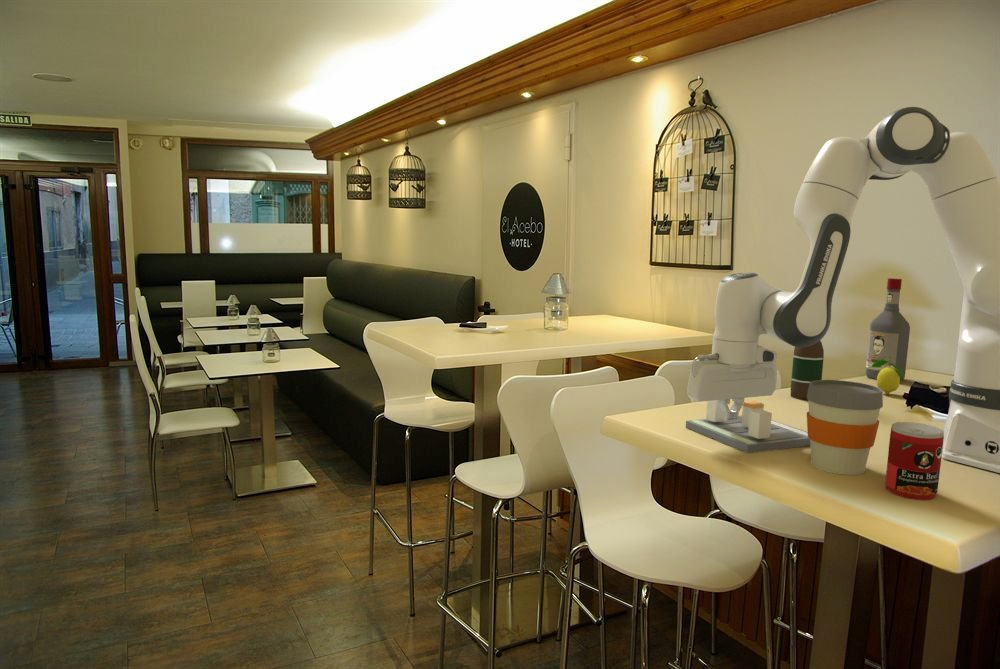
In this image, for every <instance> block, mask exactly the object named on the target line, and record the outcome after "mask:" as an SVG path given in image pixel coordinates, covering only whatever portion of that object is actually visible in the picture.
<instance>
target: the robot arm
mask: <svg viewBox="0 0 1000 669" xmlns="http://www.w3.org/2000/svg"><path fill="white" fill-rule="evenodd" d="M808 168H809V169H807V173H806V174H805V177H804V179H803V181H802V184H801V186H800V188H799V190H798V192H797V194H796V198H795V201H794V202H795V203H794V207H793V217H794V220H795V223H796V224H797V226H798V228H799V229H800V230H801V231H802V232H804V234H806V236H807V238H808V240H809V245H810V246H809V248H810V249H809V252H808V253H809V254H808V256H807V260H806V262H805V266H804V269H803V273H802V275H801V278H800V282H799V285H798V286H797V288H796V289H795V290H794V291H793V292H792V291H788V290H784V289H781V288H779V287H777V286H775V285H773V284H772V283H769V282H768V281H766V280H765V279H763V278H762V277H761V276H760V275H759V274H758V273H755V272H740V273H739V272H738V273H732V274H729V275H727V276H725V277H723V278H721V280H720V282H719V284H718V287H717V292H716V297H715V303H714V321H715V328H714V332H713V334H712V342H711V343H712V344H711V346H712V348H711V353H710V354H699V355H697V357H695V358H694V359H693V360H692V362H691V366H690V372H689V377H688V383H687V389H686V390H687V391H686V394H687V396H688V398H689V399H690V400H693V401H696V402H707V401H714V400H718V404H719V406H720V408H721V410H722V419H724V420H733V419H738V416H740V414H739V413H740V410H741V409H742V408H743V404H744V402H745V398H757V397H760V398H761V397H768V396H773V394H774V393H775V391H776V388H777V379H778V378H777V376H778V375H777V374H778V371H777V368H778V367H777V366H776V364H775V363H776V362H777V360H778V353H777V352H776V351H774V350H772V349H770V348H766V347H763V346H762V345H759V339H760V336H761V335H767V336H770V337H771V338H774V339H777V340H780V341H783V342H784V343H787V345H790V346H792V347H794V348H795V347H808V346H811V345H814V344H816V343H817V342H819V341H821V340H822V339H823V338H824V337H825V336H826V334H827V332H828V331H829V329H830V325H831V320H832V302H833V297H834V294H835V291H836V288H837V285H838V284H837V283H838V280H839V277H840V273H841V272H842V267H843V264H844V261H845V258H846V254H847V251H848V247H849V243H850V240H851V224H852V223H851V222H852V218H853V216H854V212H855V209H856V207H857V204H858V202H859V199H860V197H861V194H862V192H863V189H864V188H865V186H866V183H867V182H868V181H869V180H870V181H871V180H872V181H873V180H877V181H889V180H895V179H898V178H900V177H903V176H904V175H905V174H907V173H909V172H911V171H912V172H914V173H915V174H917V175H919V177H920V178H921V179H922V181H923V182H924V183H925V185H927V188H928V191H929V196H930V198H931V201H932V204H933V206H934V210H935V212H936V215H937V218H938V220H939V223H940V226H941V229H942V231H943V234H944V236H945V238H946V242H947V245H948V248H949V251H950V254H951V256H952V258H953V259H952V260H953V262H954V264H955V267H956V270H957V273H958V276H959V279H960V281H961V284H962V287H963V298H962V306H961V315H960V324H959V333H958V344H957V350H956V358H955V367H954V375H953V379H952V380H951V381H950V387H949V388H950V389H949V393H948V404H949V407H948V413H947V417H946V422H945V425H944V428H943V429H942V430H943V431H944V440H943V450H942V458H941V459H944V460H946V461H947V460H948V461H951V462H956V463H959V464H962V465H963V464H964V465H967V466H970V467H971V466H972V467H975V468H979V469H981V470H982V469H983V470H986V471H991V472H994V473H997V474H1000V181H999V178H998V176H997V174H996V171H995V169H994V166H993V164H992V162H991V159H990V158H989V156H988V154H987V153H986V151H985V150H984V148H983V145H981V143H980V142H979V141H978V139H977V137H975V135H974V134H971V133H969V132H965V131H954V132H950V130H949V128H948V127H946V125H944V124H943V123H942V122H940V121H939V120H938V118H936V116H935V115H934V114H933V113H932V112H930V111H928V110H927V109H925V108H922V107H918V106H907V107H902V108H900V109H896V110H894V111H892V112H890V113H889V114H888V115H886V116H885V117H883V119H882V120H881V121H880V122H878V123H877V124H876V125H875V126H874V127H873V128H872V130H871V131H870V132H869V133H868V134H867V135H866V137H864V138H861V139H858V138H854V137H851V136H837V137H834V138H833V137H832V138H831V139H829V140H827V141H826V142H824V144H823V145H822V146H821V148H820V150H819V151H818V153H817V154H816V156H815V157H814V159H813V161H812V163H811V164H810V166H809V167H808ZM731 402H732V405H731V408H729V405H730V404H731Z"/></svg>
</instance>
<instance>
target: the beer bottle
mask: <svg viewBox="0 0 1000 669" xmlns="http://www.w3.org/2000/svg"><path fill="white" fill-rule="evenodd" d="M824 353H825V352H824V346H823V343H822V341H821V340H820V341H819V342H817V343H816V344H814V345H811V346H808V347H795V346H794V350H793V355H792V357H793V358H792V368H791V380H790V381H791V382H790V397H791V398H793V399H797V400H805V401H808V399H807V393H808V388H809V383H810V382H812V381H816V380H823V379H822V378H823V369H824V357H825V356H824Z"/></svg>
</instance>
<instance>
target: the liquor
mask: <svg viewBox="0 0 1000 669" xmlns="http://www.w3.org/2000/svg"><path fill="white" fill-rule="evenodd" d="M902 281H903V280H902V279H901V278H890V277H889V278H887V283H886V298H885V306H884V307H883V311H882V312H880V313H879V314H878V315H877V316H876V317H875V318H873V319H872V320H871V322H870V324H869V331H868V332H869V333H868V343H867V353H866V365H865V372H864V373H865V376H866V378H868V379H871V378H873V379H872V380H876V379H877V376H878V374H879V372H880V371H881V370H882V369H883V368H886V367H888V366H889V363H890V358H891V364H892V365H894V366H898V367H899V368H900V369H901V370H902V372H903V374H904V377H905V378H906V370H907V361H908V353H909V352H908V351H909V341H910V332H911V326H910V323H909V322H908V321H907V319H906V318H905V317H904V315H903V314H902V313H901V311H900V308H899V307H900V295H901V290H902ZM878 360H885V361H889V362H887V364H886V365H884V366H881V367H877V368H873V367H871V366H872V365H873V364H874V363H875V362H876V361H878ZM891 364H890V366H891V367H892V368H894V367H893V366H892V365H891ZM894 369H895V368H894ZM896 371H897V372H898V374H899V377H900V380H903V381H904V380H905V378H904V377H903V376H902V375H901V374H900V373H899V371H898V370H896Z"/></svg>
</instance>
